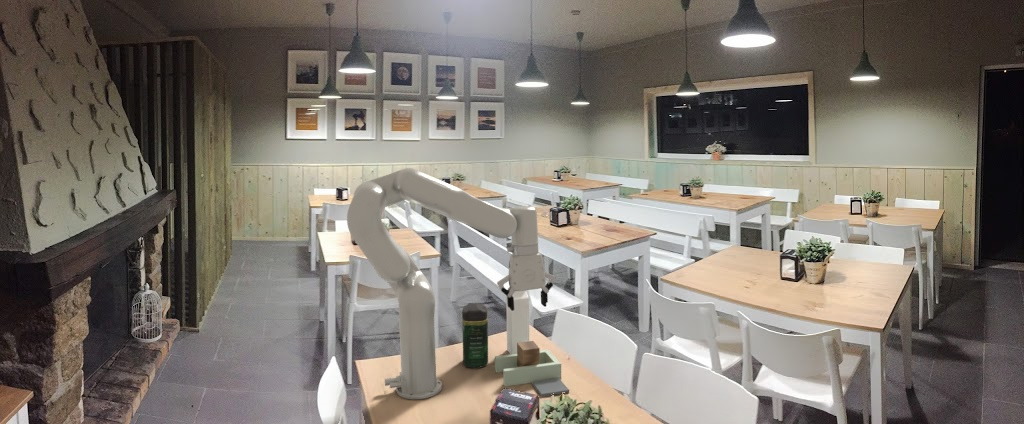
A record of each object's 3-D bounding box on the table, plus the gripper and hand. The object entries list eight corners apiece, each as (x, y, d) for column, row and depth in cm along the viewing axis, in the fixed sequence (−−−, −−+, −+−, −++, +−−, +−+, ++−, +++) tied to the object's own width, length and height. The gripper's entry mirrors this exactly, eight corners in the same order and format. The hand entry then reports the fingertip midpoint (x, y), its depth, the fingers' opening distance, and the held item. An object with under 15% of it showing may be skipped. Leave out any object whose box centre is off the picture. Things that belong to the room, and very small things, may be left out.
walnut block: (523, 379, 156) (523, 350, 155) (517, 371, 162) (517, 342, 161) (539, 377, 158) (539, 348, 157) (533, 369, 163) (533, 340, 162)
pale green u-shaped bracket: (504, 386, 152) (504, 371, 152) (495, 370, 163) (494, 356, 162) (561, 378, 157) (561, 363, 156) (548, 363, 167) (548, 349, 167)
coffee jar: (489, 368, 164) (488, 309, 162) (463, 370, 164) (461, 310, 161) (488, 356, 174) (487, 300, 171) (463, 357, 173) (461, 301, 171)
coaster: (541, 396, 146) (541, 394, 146) (532, 384, 153) (532, 381, 153) (569, 392, 148) (569, 389, 148) (558, 380, 156) (558, 377, 156)
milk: (529, 354, 175) (529, 288, 172) (511, 357, 173) (511, 290, 170) (524, 347, 180) (523, 283, 177) (506, 349, 179) (505, 285, 176)
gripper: (498, 255, 149) (501, 315, 152) (558, 249, 153) (560, 307, 155) (493, 250, 156) (496, 307, 159) (550, 244, 160) (552, 300, 163)
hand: (527, 307), depth 157 cm, fingers open, 9 cm apart
